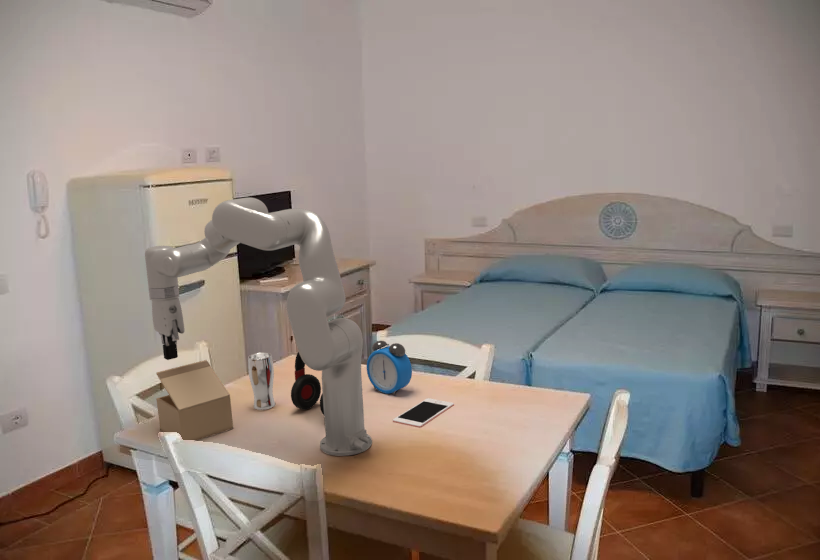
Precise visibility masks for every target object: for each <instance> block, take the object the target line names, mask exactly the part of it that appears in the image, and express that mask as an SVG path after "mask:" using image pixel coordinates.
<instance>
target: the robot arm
mask: <svg viewBox="0 0 820 560" xmlns="http://www.w3.org/2000/svg"><path fill="white" fill-rule="evenodd" d="M204 236H205V237H204V238H203V239H201V240H200V241H198V242H196V243H192V244H187V245H183V246H179V247H178V246H177V247H172V246H169V245H156V246H155V245H154V246H150V247H148V248H146V250H145V251H144V258H145V269H146V277H147V288H148V294H149V300H150V301H151V312H152V314H151V315H152V324H153V328H154V330H155V331H156V332H157V333H158V335H159V336H160V339H161V345H162V352H163V359H165V360H167V361H169V360H174V359H176V358H178V356H179V354H178V345H177V344H178V341H179V340H180V337H179V334H182V335H183V334H184V333H185V324H184V316H183V310H182V306H181V302H180V298H179V297H180V289H179V281H178V279H179V278H181V277H184V276H185V277H186V276H188V275H192V274H196V273H200V272H204V271H206V270H208V269H210V268H211V267H214V266H215V265H216V264H218V263H219V262H221V261H222V260H224V259H225V258H226V257H227V256H228V255H229V253H230V251H231V249H234V248H235V247H236V246H237V245H239V244H242V245H247V246H249V247H252V248H255V249H258V250H262V251H276V250H279V249H284V248H286V247H291V246H293V245H298V246H299V249H298V265H299V268H300V273H301V275H302V279H303V281H302V282H299V283H298V284H295V286H293V287H292V288H291V289H290V291H289V293H288V295H287V299H286V311H287V315H288V316H287V317H288V320H289V322H290V323H289V324H290V326H291V330H292V334H293V338H294V341H295V345H296V347H297V351H299V354H300V356H301V358H302V360H303V362H304V363H305V366H306V367H308V368H309V369H311V370H313V371H318V372H319V371H321V394H322V393H323V406H324V415H323V417H324V430H325V436H324V437H323V438H322V439H321V440H320V442H319V447H320V450H321V451H322V452H323V453H325V454H327V455H330V456H335V457H345V456H353V455H357V454H358V455H359V454H360V453H363V452H366V451H367V450H368V449H369V448H371V446H372V444H373V440H372V439H373V438H372V437H371V436H370V434H369V433H368V432H367V429H366V428H365V414H364V399H363V398H364V397H363V380H362V377H363V376H362V354H363V347H364V342H363V341H364V340H363V337H364V336H363V333H362V330H361V328H360V326H359V325H358V323H356V322H355V321H354V320H352V319H350V318H345V317H337V318H334V319H332V320H330V321H328V317H330V316H333V315H335V314H336V313H338V312H340V311H341V310H342V309H343V308H344V306H345V304H346V301H347V300H346V299H347V298H346V292H345V288H344V285H343V281H342V277H341V274H340V272H339V271H340V270H339V266H338V263H337V261H336V260H337V259H336V257H335V254H334V250H333V245H332V240H331V235H330V232H329V228H328V225H327V223H326V222H325V220H324V219H323V218H322V217H321V216H320V215H319V214H317V213H316V212H314V211H312V210H309V209H307V208H306V209H305V208H288V209H282V210H279V211H277V210H276V211H272V212H269V210H268V207H267V206H266V204H265V203H264V202H263V201H262V200H260V199H258V198H255V197H242V198H234V199H233V198H232V199H228V200H224V201H222V202H220V203H219V204H218V205H216V207H215V208H214V210H213V213H212V215H211V220H210V221H208V222H207V223H206V224H205V226H204Z"/></svg>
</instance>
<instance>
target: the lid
mask: <svg viewBox="0 0 820 560" xmlns="http://www.w3.org/2000/svg"><path fill="white" fill-rule="evenodd" d="M156 376H157V377H158V379H159V381H160V382H161V384H162V386H163V387H164V389H165V390H166V392H167V395H169V396H170V397H171V399H172V401H173V402H174V404H175V406H176V407H177V409H178V410H179V411H182V410H185V409H188V408H192V407H195V406H198V405H202V404H205V403H209V402H212V401H215V400H219V399H222V398H225V397H229V396H230V397H231V394H230V393H229V391H228V389H227V388H226V387H225V385H224V384H223V382H222V380H221V379H220V378H219V376H218V375H217V373H216V372H215V371H214V368H213V367H212V366H211V364H210V362H209V361H208V360H207V359H204V360H201V361H197V362H192V363H188V364H185V365H180V366H176V367H173V368H169V369H165V370H161V371H157V372H156Z"/></svg>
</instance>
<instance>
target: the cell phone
mask: <svg viewBox="0 0 820 560" xmlns="http://www.w3.org/2000/svg"><path fill="white" fill-rule="evenodd" d="M453 406H455V402H452V401H446V400H440V399H435V398H430V397H429V398H428V397H427V398H425V399H424V400H422V401H420V402H418V403H417V404H416V405H414V406H413V407H410V408H409V409H408V410H405V411H404V412H403V413H400V414H398V416H395V417H394V418H393V419H392V423H395V424H399V425H405V426H409V427H415V428H422V427H423V426H425V425H427V424H428V423H430V422H432V420H434V419H435V418H437V417H439V416H440V415H442V414H443V413H444V412H446V411H447V410H449V409H450V408H452V407H453Z"/></svg>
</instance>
